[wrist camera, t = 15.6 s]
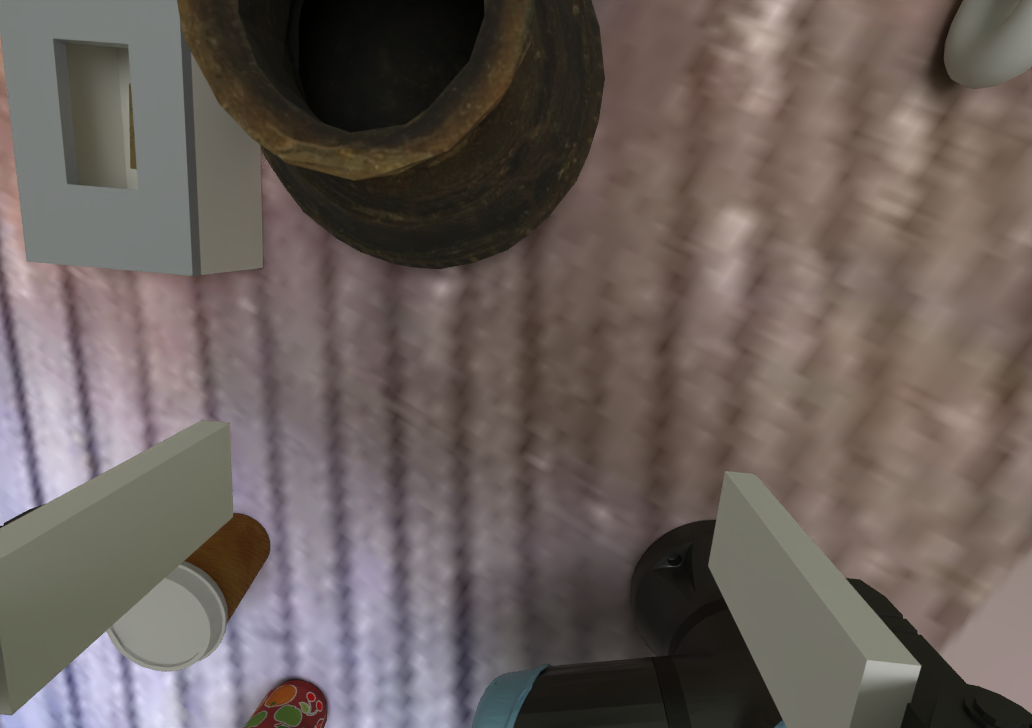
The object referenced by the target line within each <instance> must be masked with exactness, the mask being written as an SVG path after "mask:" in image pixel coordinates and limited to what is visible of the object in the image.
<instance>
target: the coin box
mask: <svg viewBox="0 0 1032 728" xmlns="http://www.w3.org/2000/svg"><path fill="white" fill-rule="evenodd" d="M0 34H1V43H2V52H3V60H4V69H5V78H6V86H7V95H8V104H9V112H10V121H11V129H12V138H13V147H14V155H15V164H16V173H17V181H18V190H19V199H20V207H21V216H22V224H23V233H24V242H25V250H26V259H27V261H28V262H39V263H51V264H62V265H73V266H85V267H96V268H107V269H119V270H130V271H141V272H153V273H164V274H175V275H187V276H197V275H206V274H214V273H223V272H232V271H240V270H249V269H258V268H263V236H262V189H261V147H260V144H259V143H258V142H256V141H255V140H253V139H252V138H251V137H250V136H249V135H248V134H247V133H246V132H245V131H244V130H243V129H242V128H241V127H240V126H239V125H238V124H237V122H236V121H235V120H234V119H233V118H232V117H231V116H230V115H229V114H228V113H227V112H226V111H225V110H224V109H223V108H222V107H221V106H220V104H219V103H218V101H217V99H216V97H215V95H214V94H213V92H212V90H211V88H210V86H209V84H208V82H207V80H206V79H205V77H204V75H203V73H202V71H201V69H200V67H199V66H198V64H197V62H196V60H195V58H194V56H193V54H192V52H191V51H190V49H189V47H188V45H187V43H186V41H185V39H184V38H183V32H182V26H181V21H180V15H179V10H178V4H177V0H0ZM129 84H131V93H132V107H133V121H134V136H135V150H136V165H137V169H131V168H130V128H129Z"/></svg>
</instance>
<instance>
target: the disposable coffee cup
mask: <svg viewBox="0 0 1032 728" xmlns="http://www.w3.org/2000/svg"><path fill="white" fill-rule="evenodd" d="M269 552H270V541H269V538H268V535H267V533H266V531H265V529H264V528H263V527H262V526H261V525H260V524H259V523H258V522H257V521H256V520H254V519H253V518H251V517H249V516H246V515H243V514H236V513H233V517H232V518H231V519H230V520H229V521H228V522H227V523H226V524H225V525H223V526H222V527H221V528H220V529H219V530H218V531H217V532H216V533H215V534H213V535H212V536H211V537H210V538H209V539H208V540H207V541H206V542H205V543H203V544H202V545H201V546H200V547H199V548H198V549H197V550H196V551H195V552H193V553H192V554H191V555H190V556H189V557H188V558H187V559H186V560H184V561H183V562H182V563H181V564H180V565H179V566H178V567H177V568H176V569H174V570H173V571H172V572H171V573H170V574H169V575H168V576H167V577H166V578H164V579H163V580H162V581H161V582H160V583H159V584H158V585H157V586H156V587H154V588H153V589H152V590H151V591H150V592H149V593H148V594H147V595H145V596H144V597H143V598H142V599H141V600H140V601H139V602H138V603H137V604H135V605H134V606H133V607H132V608H131V609H130V610H129V611H128V612H127V613H125V614H124V615H123V616H122V617H121V618H120V619H119V620H118V621H117V622H115V623H114V624H113V625H112V626H111V627H110V628H109V629H108V630H106V632H107V634H108V636H109V638H110V639H111V641H112V643H113V644H114V645H115V646H116V648H117V649H118V650H119V651H120V652H121V653H122V654H123V655H124V656H125V657H127V658H128V659H130V660H131V661H133V662H135V663H136V664H138V665H140V666H142V667H145V668H149V669H152V670H157V671H177V670H181V669H185V668H187V667H189V666H191V665H193V664H194V663H195V662H198V661H201V660H202V659H204V658H206V657H208V656H209V655H210V654H211V653H212V652H213V651H215V650H216V648H217V647H218V646H219V644H220V643H221V641H222V639H223V636H224V634H225V631H226V625H227V623H228V621H229V619H230V618H231V616H232V615H233V613H234V611H235V610H236V608H237V607H238V605H239V603H240V601H241V600H242V598H243V597H244V595H245V593H246V592H247V590H248V589H249V587H250V585H251V584H252V582H253V580H254V579H255V577H256V575H257V574H258V572H259V571H260V569H261V567H262V566H263V564H264V562H265V561H266V559H267V558H268V555H269Z"/></svg>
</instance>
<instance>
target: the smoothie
mask: <svg viewBox="0 0 1032 728" xmlns="http://www.w3.org/2000/svg"><path fill="white" fill-rule="evenodd" d="M326 721H327V711H326V701H325V698H324V696H323V694H322V693H321V692H320V690H319V689H318V688H316V687H315V686H314V685H312V684H310V683H308V682H305V681H300V680H292V681H287V682H285V683H283V684H281V685H280V686H279V687H277V688H275V689H273V690H271V691H270V692H269V693H268V694H267V695H266V697H265V698H264V699H263V701H262V702H261V704H260V705H259V707H258V708H257V709H256V711H255V712H254V714H253V715H252V717H251V718H250V719H249V721H248V722H247V724H246V725H245V727H244V728H324V726H325V723H326Z"/></svg>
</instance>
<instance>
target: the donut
mask: <svg viewBox="0 0 1032 728" xmlns="http://www.w3.org/2000/svg"><path fill="white" fill-rule="evenodd" d="M944 64H945V67H946V70H947V73H948V75H949V76H950V78H951V79H952V80H953V81H955V82H957V83H959V84H961V85H962V86H964V87H966V88H972V89H978V88H986V87H992V86H997V85H1000V84H1002V83H1004V82H1006V81H1008V80H1010V79H1012V78H1014V77H1016V76H1018V75H1020V74H1022V73H1023V72H1025V71H1026V70H1028V69H1029V68H1030V67H1032V0H963V1H962V3H961V5H960V7H959V9H958V11H957V13H956V15H955V17H954V19H953V21H952V24H951V26H950V29H949V32H948V35H947V39H946V42H945V49H944Z"/></svg>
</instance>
